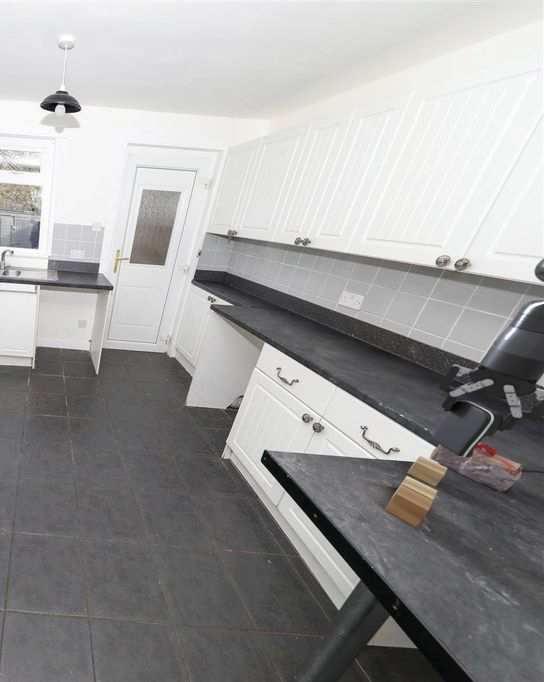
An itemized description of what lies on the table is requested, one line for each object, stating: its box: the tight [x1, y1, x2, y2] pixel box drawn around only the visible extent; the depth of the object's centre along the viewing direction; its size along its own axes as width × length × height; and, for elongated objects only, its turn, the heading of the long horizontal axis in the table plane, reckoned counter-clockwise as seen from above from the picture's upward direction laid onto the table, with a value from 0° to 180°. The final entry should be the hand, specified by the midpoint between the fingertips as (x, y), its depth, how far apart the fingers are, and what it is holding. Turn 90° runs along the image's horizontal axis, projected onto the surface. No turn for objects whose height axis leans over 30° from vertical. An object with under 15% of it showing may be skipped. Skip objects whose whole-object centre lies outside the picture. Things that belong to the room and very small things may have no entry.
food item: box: [429, 442, 523, 492], centre depth 87 cm, size 14×8×10 cm, turn 31°
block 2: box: [390, 475, 438, 502], centre depth 77 cm, size 5×5×5 cm
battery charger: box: [430, 400, 504, 457], centre depth 73 cm, size 7×4×11 cm, turn 173°
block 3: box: [384, 484, 434, 528], centre depth 73 cm, size 5×5×5 cm
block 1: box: [407, 455, 448, 487], centre depth 85 cm, size 5×5×5 cm
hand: (472, 419), depth 72 cm, fingers closed on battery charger, 7 cm apart
